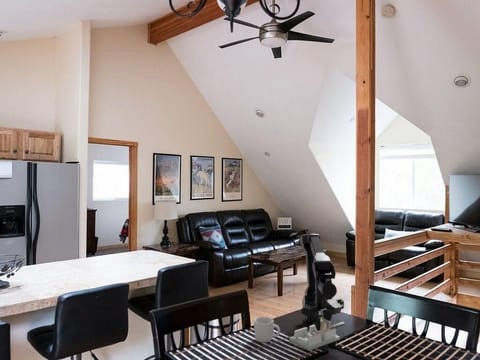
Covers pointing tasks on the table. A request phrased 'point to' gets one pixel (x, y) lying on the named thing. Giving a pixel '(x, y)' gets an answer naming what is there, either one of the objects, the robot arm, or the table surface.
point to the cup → (265, 329)
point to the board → (313, 337)
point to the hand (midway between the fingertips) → (322, 329)
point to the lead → (337, 325)
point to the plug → (323, 326)
